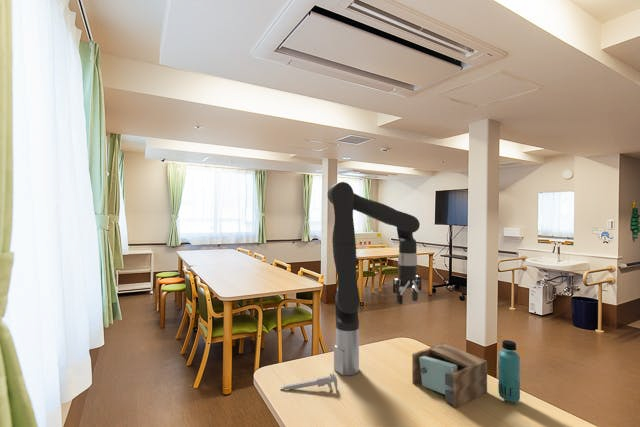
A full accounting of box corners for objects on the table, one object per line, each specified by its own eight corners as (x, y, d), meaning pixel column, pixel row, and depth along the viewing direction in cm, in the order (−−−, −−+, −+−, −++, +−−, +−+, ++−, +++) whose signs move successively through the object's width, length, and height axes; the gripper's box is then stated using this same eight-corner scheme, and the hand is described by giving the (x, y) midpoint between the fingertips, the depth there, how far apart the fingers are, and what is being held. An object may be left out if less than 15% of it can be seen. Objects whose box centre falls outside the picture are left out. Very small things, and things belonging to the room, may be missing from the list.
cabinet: (455, 408, 103) (455, 374, 103) (412, 383, 118) (412, 353, 118) (487, 392, 113) (487, 360, 113) (443, 370, 128) (443, 343, 128)
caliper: (337, 389, 115) (337, 372, 115) (337, 391, 114) (337, 373, 114) (280, 389, 115) (280, 371, 115) (280, 391, 114) (280, 373, 114)
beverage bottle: (517, 397, 109) (517, 339, 109) (523, 408, 103) (523, 346, 103) (496, 393, 111) (496, 336, 111) (500, 404, 105) (500, 344, 105)
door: (454, 400, 104) (450, 367, 105) (420, 386, 116) (416, 358, 117) (460, 396, 106) (456, 364, 107) (426, 384, 118) (423, 355, 119)
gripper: (412, 261, 140) (412, 298, 140) (388, 263, 133) (388, 302, 133) (426, 263, 134) (426, 302, 134) (401, 266, 126) (401, 307, 126)
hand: (407, 302), depth 133 cm, fingers open, 8 cm apart
